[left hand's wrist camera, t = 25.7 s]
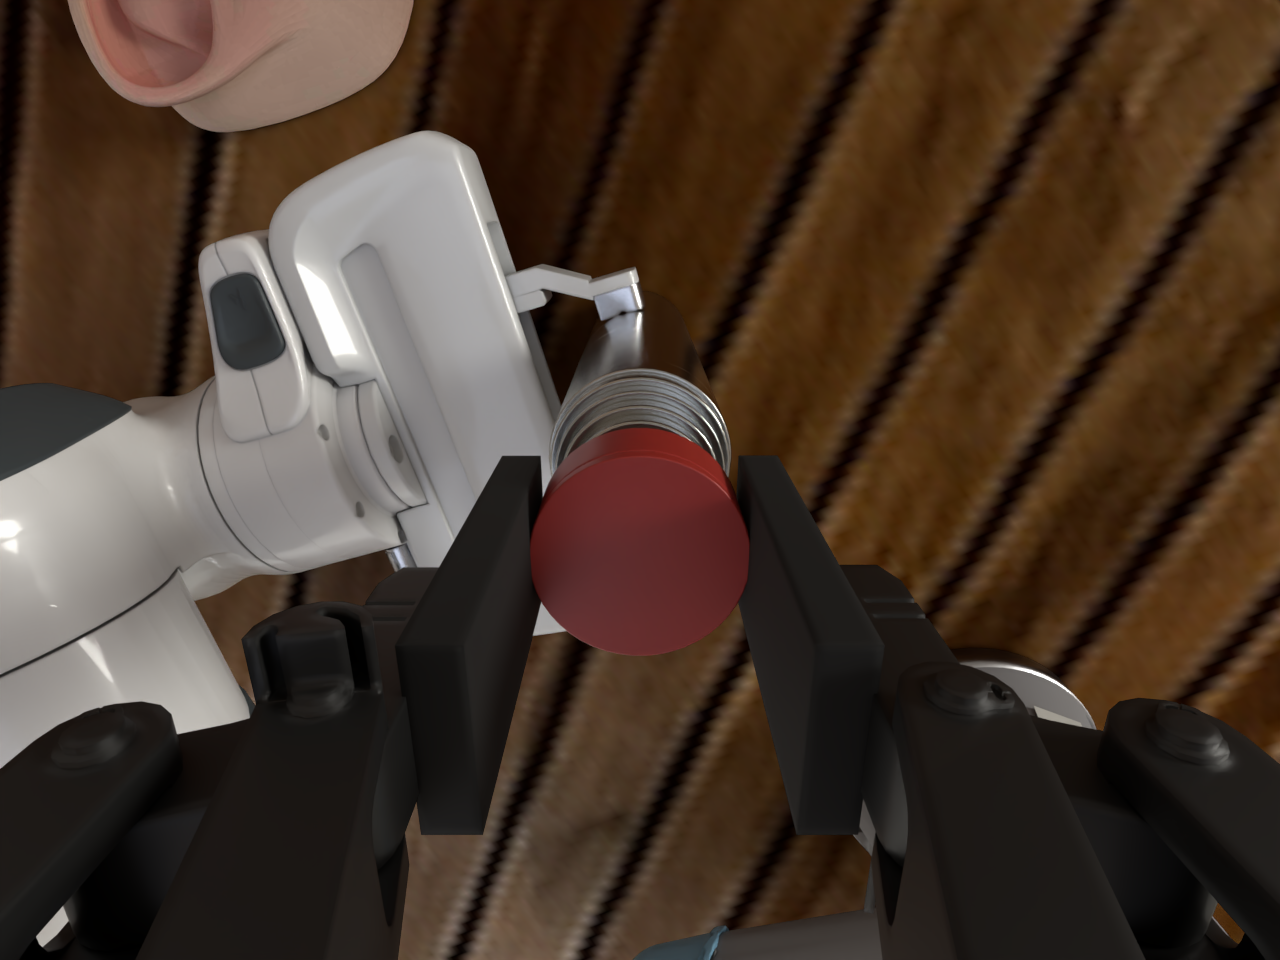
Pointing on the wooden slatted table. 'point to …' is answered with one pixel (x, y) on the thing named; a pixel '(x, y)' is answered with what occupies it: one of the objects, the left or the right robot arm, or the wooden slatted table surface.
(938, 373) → the wooden slatted table surface
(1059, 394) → the wooden slatted table surface
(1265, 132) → the wooden slatted table surface
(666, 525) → the cap
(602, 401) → the bottle
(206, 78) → the anatomical model
